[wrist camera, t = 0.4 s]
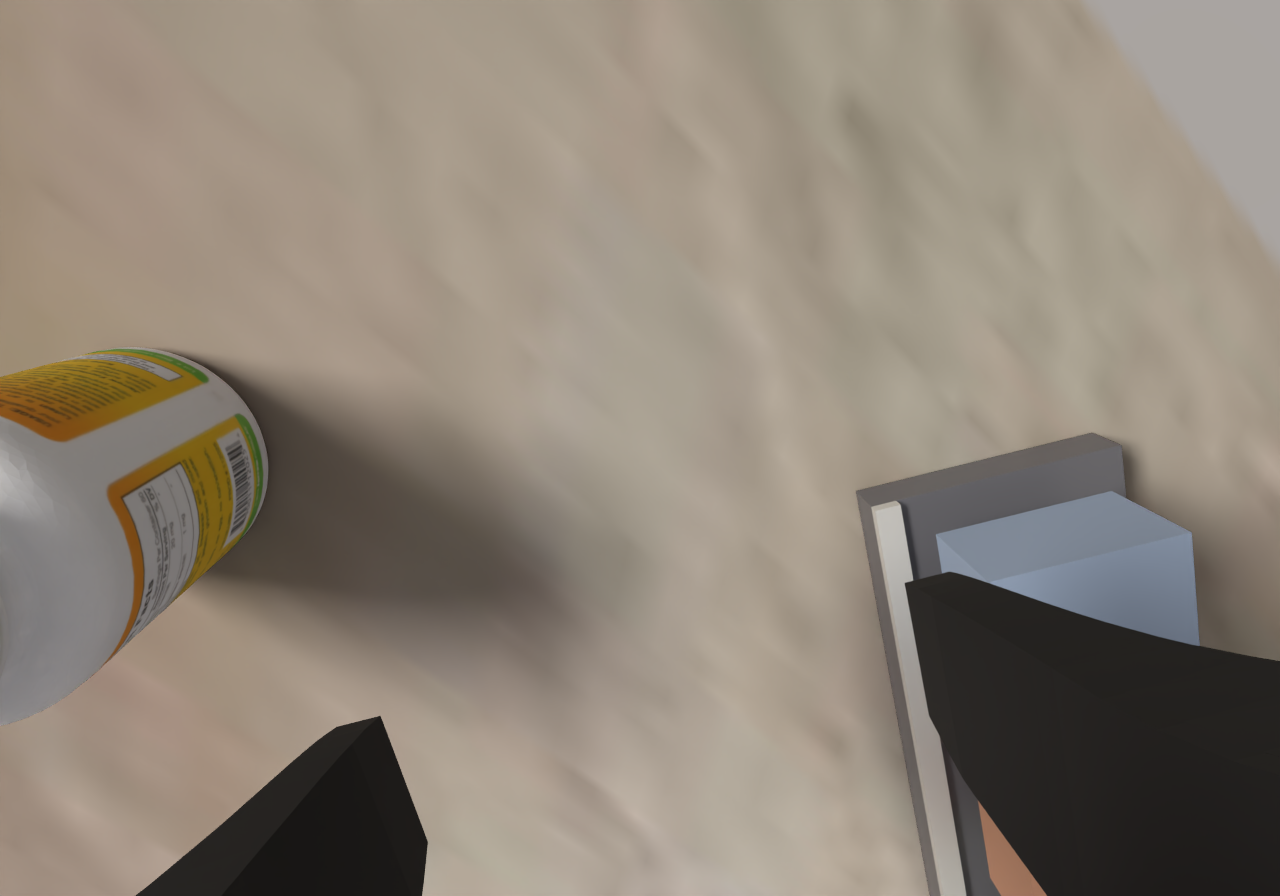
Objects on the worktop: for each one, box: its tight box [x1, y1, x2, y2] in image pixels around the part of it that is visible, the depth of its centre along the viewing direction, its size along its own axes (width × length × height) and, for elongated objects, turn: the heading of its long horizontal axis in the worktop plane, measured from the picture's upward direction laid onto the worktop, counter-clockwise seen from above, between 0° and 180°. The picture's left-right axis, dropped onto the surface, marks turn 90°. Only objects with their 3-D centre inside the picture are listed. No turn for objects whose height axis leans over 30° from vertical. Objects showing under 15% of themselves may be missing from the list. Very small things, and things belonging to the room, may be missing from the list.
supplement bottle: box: [0, 347, 268, 726], centre depth 15 cm, size 5×5×10 cm
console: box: [856, 433, 1126, 896], centre depth 22 cm, size 16×6×2 cm, turn 14°
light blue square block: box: [936, 491, 1200, 646], centre depth 18 cm, size 4×4×3 cm
